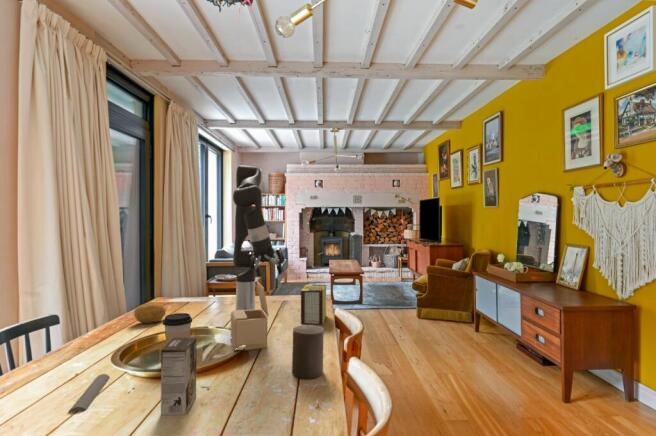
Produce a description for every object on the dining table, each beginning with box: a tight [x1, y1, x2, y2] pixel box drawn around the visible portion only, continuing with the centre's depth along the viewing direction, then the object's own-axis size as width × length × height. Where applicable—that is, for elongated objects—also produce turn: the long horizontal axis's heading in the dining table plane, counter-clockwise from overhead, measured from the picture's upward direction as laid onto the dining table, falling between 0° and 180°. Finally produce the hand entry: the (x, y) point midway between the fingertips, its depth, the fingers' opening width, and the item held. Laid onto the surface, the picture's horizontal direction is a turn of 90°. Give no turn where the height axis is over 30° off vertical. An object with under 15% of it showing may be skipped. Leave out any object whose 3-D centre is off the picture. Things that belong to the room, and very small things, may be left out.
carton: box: [230, 308, 268, 351], centre depth 138 cm, size 15×12×12 cm
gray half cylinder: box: [68, 373, 111, 413], centre depth 98 cm, size 4×20×2 cm, turn 16°
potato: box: [133, 301, 167, 324], centre depth 165 cm, size 10×13×9 cm
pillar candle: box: [291, 324, 325, 380], centre depth 112 cm, size 10×10×15 cm
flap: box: [256, 281, 269, 317], centre depth 140 cm, size 14×1×11 cm, turn 20°
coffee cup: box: [161, 312, 193, 346], centre depth 121 cm, size 9×9×15 cm
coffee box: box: [160, 337, 197, 416], centre depth 92 cm, size 9×6×16 cm
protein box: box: [300, 284, 327, 325], centre depth 172 cm, size 10×15×16 cm
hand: (270, 275), depth 142 cm, fingers open, 8 cm apart
